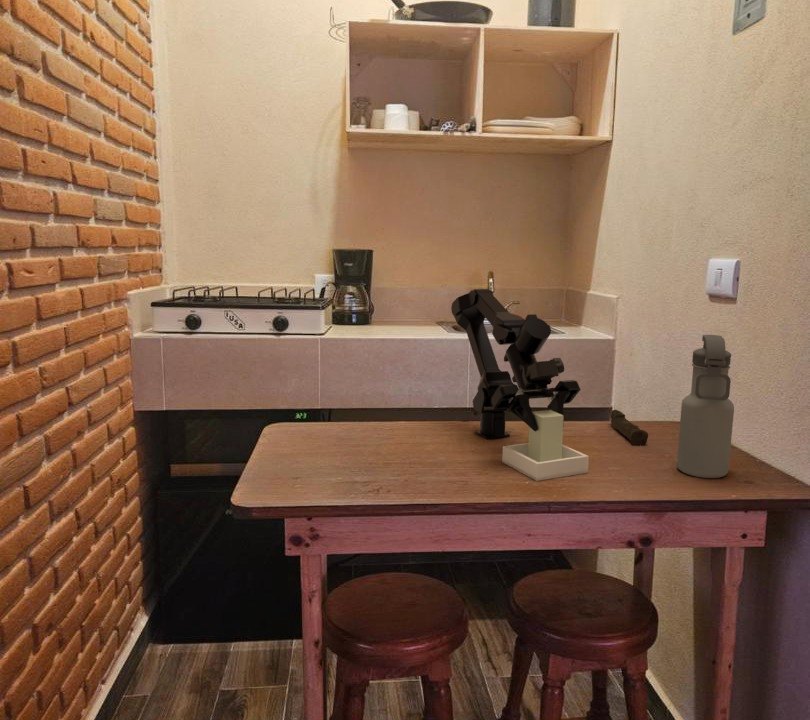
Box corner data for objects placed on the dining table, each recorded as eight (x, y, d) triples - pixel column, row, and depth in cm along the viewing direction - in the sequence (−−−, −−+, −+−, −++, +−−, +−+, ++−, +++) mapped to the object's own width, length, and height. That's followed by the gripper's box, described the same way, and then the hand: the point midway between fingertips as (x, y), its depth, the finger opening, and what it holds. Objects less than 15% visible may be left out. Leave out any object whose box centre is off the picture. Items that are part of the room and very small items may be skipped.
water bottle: (732, 482, 132) (745, 341, 127) (678, 477, 134) (689, 339, 130) (723, 466, 141) (735, 334, 136) (674, 461, 144) (684, 332, 139)
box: (502, 462, 143) (502, 446, 143) (550, 454, 148) (551, 439, 148) (536, 481, 132) (537, 464, 131) (587, 472, 137) (588, 456, 136)
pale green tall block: (527, 462, 141) (529, 411, 140) (548, 459, 143) (550, 409, 141) (539, 469, 137) (541, 417, 135) (561, 467, 138) (563, 415, 136)
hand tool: (648, 446, 155) (649, 427, 155) (630, 446, 155) (632, 427, 155) (622, 425, 174) (623, 408, 173) (607, 425, 174) (608, 407, 173)
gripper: (499, 346, 136) (523, 412, 128) (578, 342, 142) (606, 405, 134) (481, 377, 145) (503, 440, 137) (556, 372, 151) (581, 432, 143)
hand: (549, 429), depth 137 cm, fingers open, 6 cm apart
